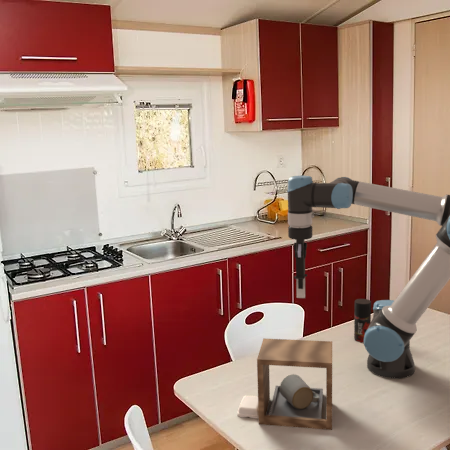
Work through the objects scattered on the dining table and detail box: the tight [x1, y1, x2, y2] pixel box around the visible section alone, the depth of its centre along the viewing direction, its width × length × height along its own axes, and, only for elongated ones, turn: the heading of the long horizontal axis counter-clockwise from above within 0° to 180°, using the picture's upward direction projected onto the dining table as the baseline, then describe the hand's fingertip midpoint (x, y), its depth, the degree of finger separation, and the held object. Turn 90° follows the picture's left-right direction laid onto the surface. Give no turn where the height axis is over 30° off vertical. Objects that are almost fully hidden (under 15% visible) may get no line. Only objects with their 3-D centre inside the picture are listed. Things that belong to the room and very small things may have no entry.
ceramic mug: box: [279, 373, 319, 409], centre depth 158 cm, size 11×8×8 cm
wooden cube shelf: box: [256, 338, 333, 431], centre depth 153 cm, size 20×14×20 cm
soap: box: [236, 395, 259, 419], centre depth 158 cm, size 9×7×3 cm
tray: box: [268, 385, 324, 419], centre depth 158 cm, size 14×17×2 cm
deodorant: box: [353, 298, 372, 343], centre depth 202 cm, size 6×6×15 cm
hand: (300, 297), depth 174 cm, fingers closed
